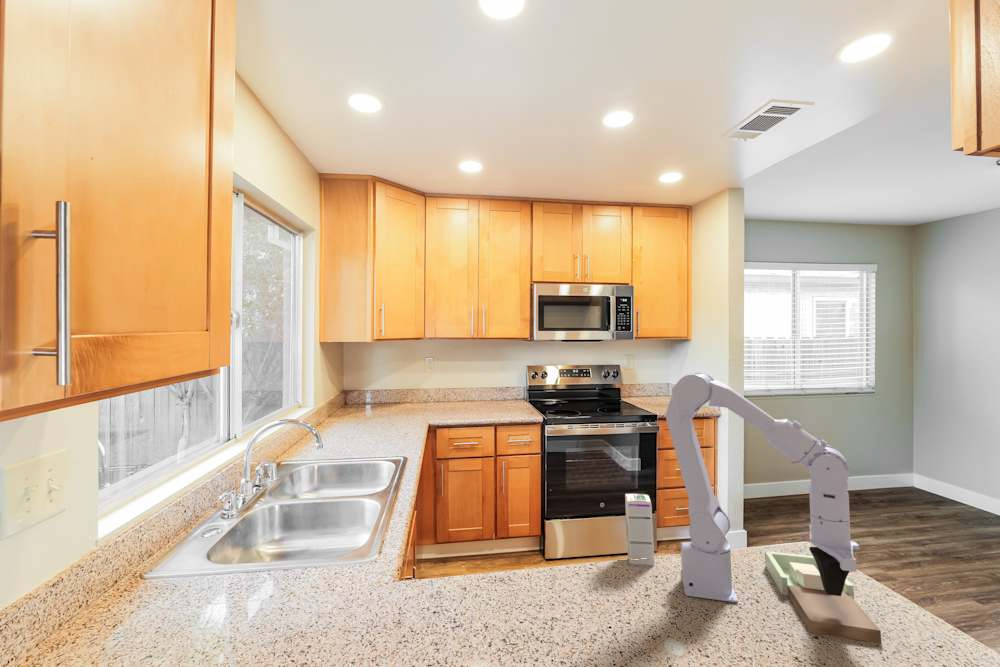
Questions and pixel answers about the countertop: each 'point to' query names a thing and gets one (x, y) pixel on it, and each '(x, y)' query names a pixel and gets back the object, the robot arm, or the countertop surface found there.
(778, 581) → the tray
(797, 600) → the board
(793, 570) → the tile
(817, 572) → the tile
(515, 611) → the countertop surface
